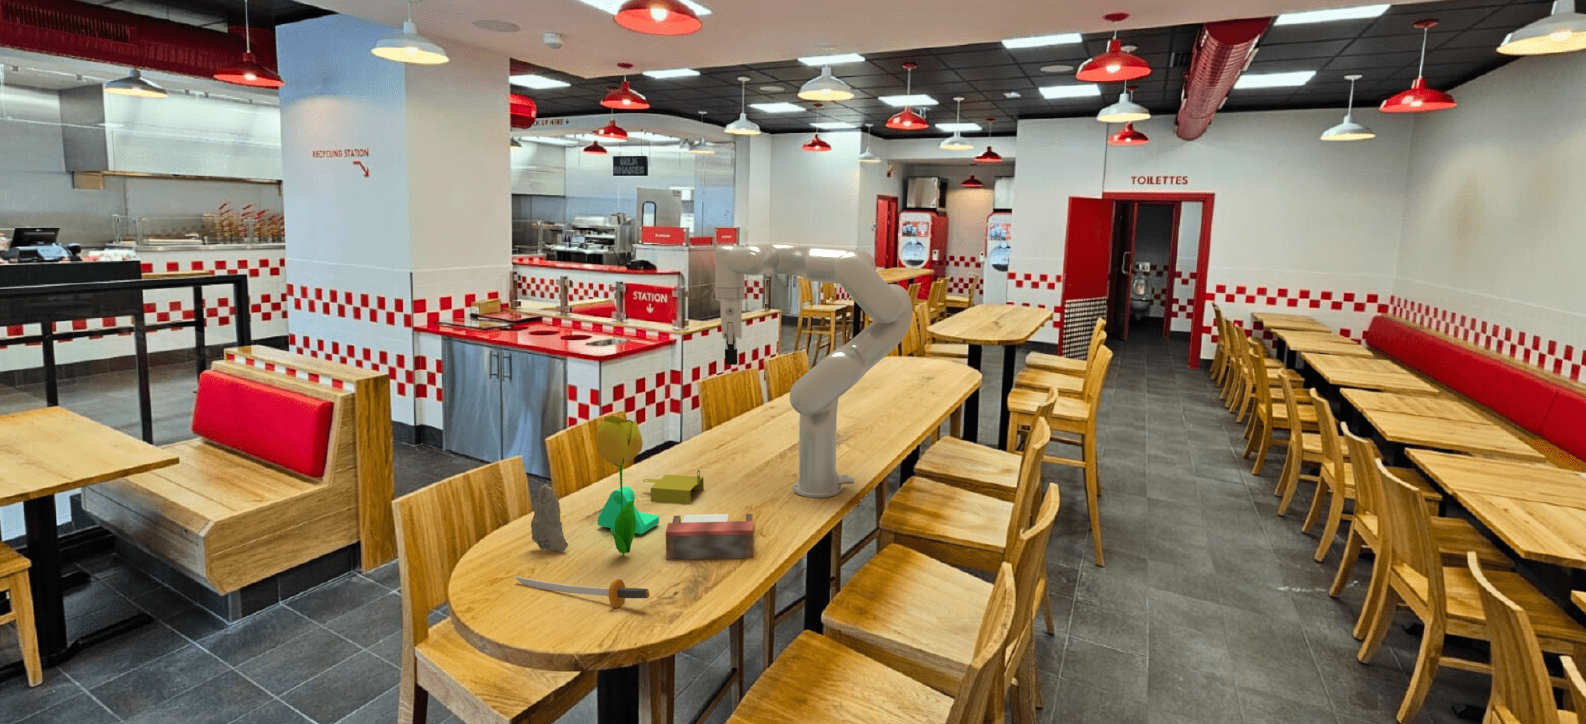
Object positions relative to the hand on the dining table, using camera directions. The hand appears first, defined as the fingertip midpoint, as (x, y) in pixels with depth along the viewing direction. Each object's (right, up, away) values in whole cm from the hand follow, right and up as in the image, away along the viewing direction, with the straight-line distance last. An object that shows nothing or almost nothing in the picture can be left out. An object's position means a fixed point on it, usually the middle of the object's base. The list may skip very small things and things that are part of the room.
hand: (731, 364), depth 206 cm
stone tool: (-36, -40, -37) cm, 65 cm away
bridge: (-2, -39, -33) cm, 51 cm away
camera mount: (-21, -38, -25) cm, 50 cm away
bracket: (-15, -34, -4) cm, 38 cm away
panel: (-3, -39, -33) cm, 51 cm away
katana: (-24, -44, -58) cm, 76 cm away
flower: (-19, -40, -40) cm, 60 cm away
